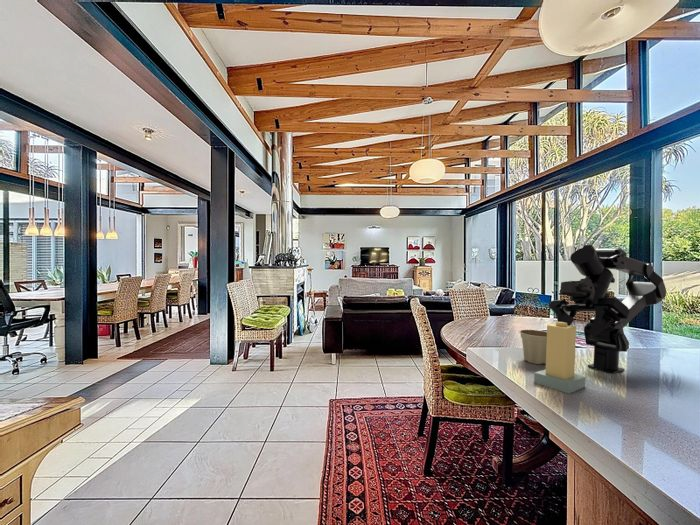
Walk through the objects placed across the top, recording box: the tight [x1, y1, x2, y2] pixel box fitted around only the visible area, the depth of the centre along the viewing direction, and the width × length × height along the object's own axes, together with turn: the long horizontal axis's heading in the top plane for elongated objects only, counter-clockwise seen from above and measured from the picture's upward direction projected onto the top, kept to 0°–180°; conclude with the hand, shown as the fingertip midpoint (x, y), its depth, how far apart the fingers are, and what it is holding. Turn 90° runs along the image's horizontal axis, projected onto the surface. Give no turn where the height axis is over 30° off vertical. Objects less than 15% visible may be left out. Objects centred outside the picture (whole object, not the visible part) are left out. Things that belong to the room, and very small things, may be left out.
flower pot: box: [518, 329, 547, 365], centre depth 104 cm, size 9×9×9 cm
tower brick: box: [545, 321, 577, 379], centre depth 85 cm, size 4×4×13 cm
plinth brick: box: [533, 368, 586, 395], centre depth 85 cm, size 8×8×2 cm
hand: (574, 335), depth 90 cm, fingers open, 9 cm apart
